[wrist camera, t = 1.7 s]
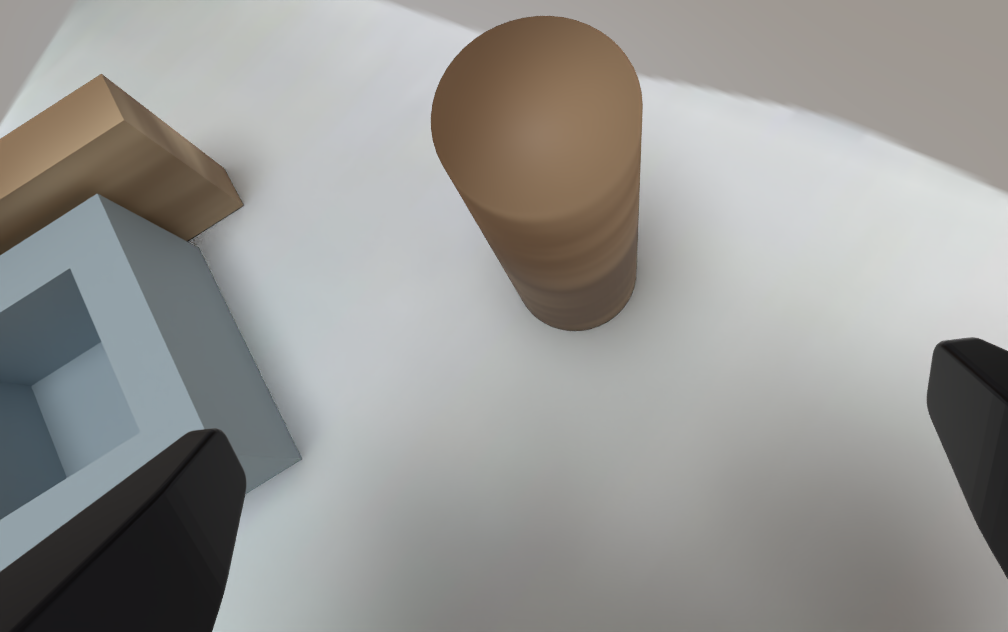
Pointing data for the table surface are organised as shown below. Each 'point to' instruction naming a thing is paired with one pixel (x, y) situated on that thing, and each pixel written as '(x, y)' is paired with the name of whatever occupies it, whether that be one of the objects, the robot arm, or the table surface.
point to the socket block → (115, 367)
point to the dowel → (548, 162)
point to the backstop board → (107, 167)
